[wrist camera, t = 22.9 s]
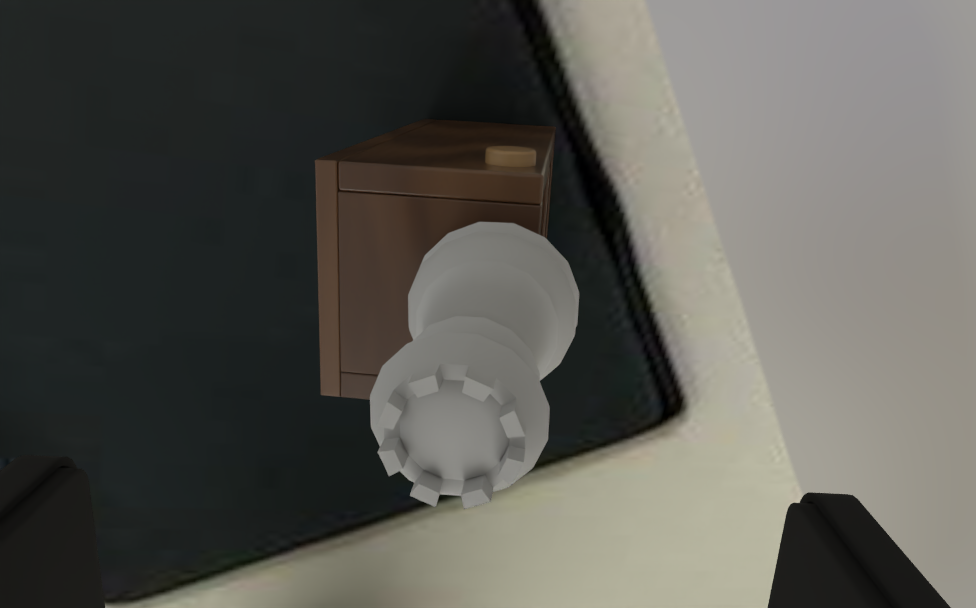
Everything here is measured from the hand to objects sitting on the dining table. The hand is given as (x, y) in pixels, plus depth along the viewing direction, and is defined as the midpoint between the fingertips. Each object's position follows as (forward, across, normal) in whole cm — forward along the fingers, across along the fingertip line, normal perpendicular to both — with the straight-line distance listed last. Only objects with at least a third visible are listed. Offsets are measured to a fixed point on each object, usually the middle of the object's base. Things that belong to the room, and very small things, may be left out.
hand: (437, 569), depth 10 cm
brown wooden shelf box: (+19, +3, -1) cm, 19 cm away
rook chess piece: (+11, -1, -1) cm, 11 cm away
